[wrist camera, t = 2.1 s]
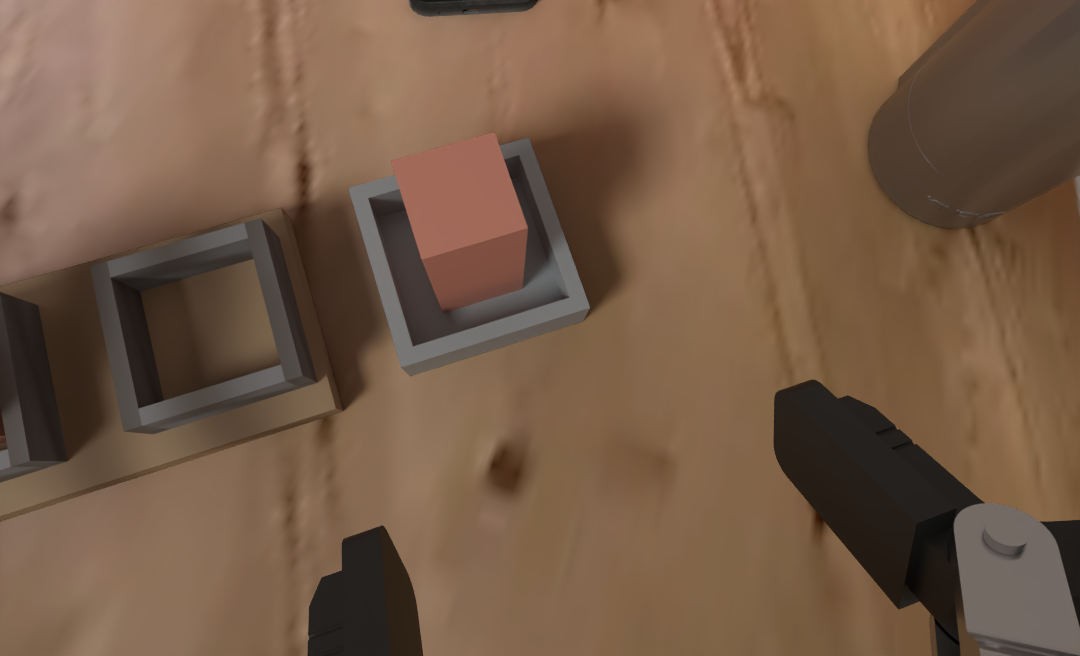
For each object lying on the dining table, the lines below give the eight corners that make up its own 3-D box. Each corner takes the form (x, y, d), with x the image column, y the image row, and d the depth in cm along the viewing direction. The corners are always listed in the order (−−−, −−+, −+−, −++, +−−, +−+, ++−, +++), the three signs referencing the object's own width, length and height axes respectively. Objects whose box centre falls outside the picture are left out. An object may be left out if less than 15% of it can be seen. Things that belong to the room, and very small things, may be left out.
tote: (527, 163, 37) (528, 137, 34) (583, 321, 35) (590, 307, 32) (361, 211, 36) (348, 188, 33) (410, 376, 34) (401, 367, 31)
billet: (497, 215, 36) (494, 131, 27) (522, 288, 35) (528, 227, 26) (419, 238, 35) (390, 160, 26) (443, 313, 34) (421, 259, 26)
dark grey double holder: (290, 218, 35) (263, 187, 31) (343, 411, 33) (321, 403, 29) (-120, 334, 33) (-204, 317, 29) (-90, 550, 31) (-177, 562, 27)
